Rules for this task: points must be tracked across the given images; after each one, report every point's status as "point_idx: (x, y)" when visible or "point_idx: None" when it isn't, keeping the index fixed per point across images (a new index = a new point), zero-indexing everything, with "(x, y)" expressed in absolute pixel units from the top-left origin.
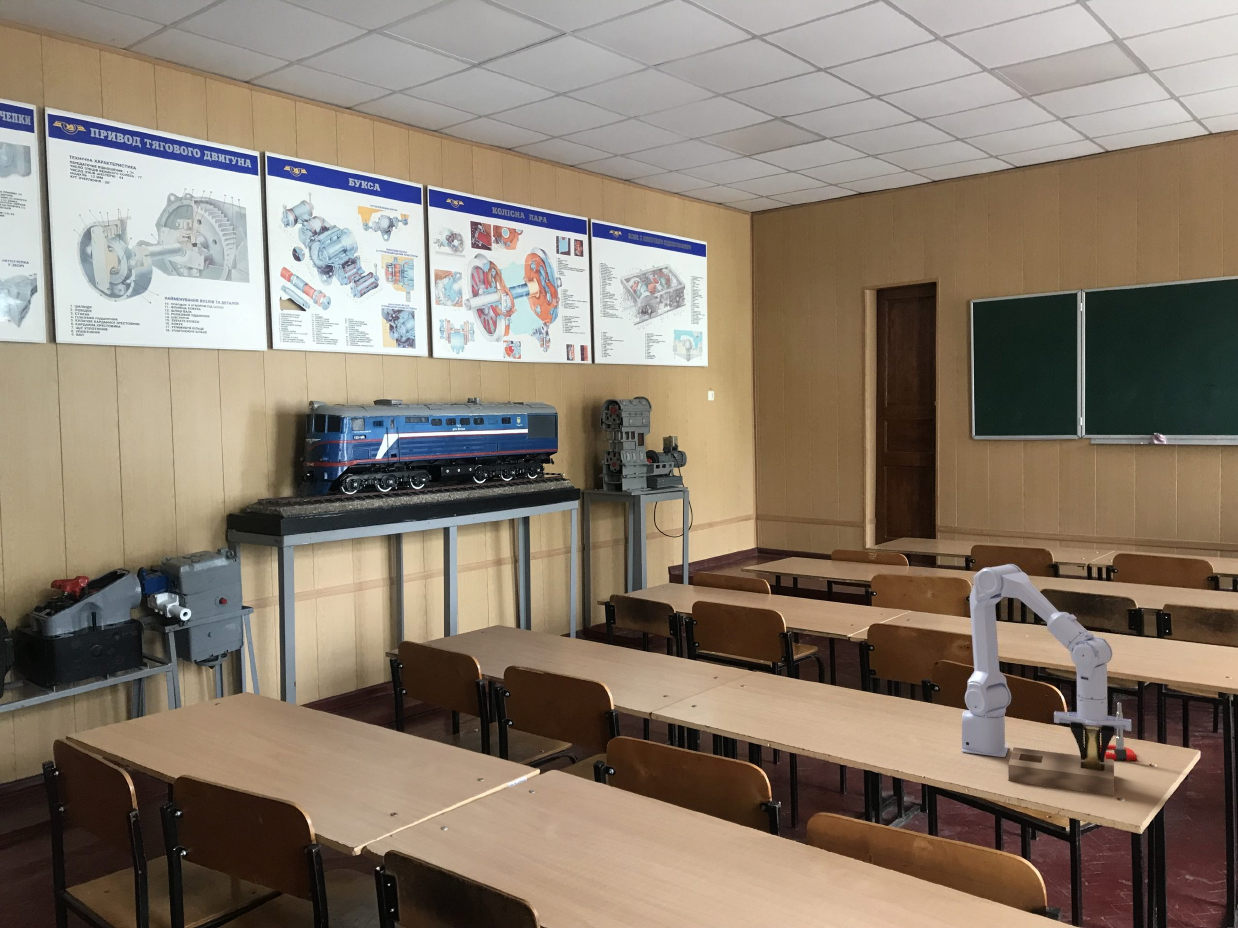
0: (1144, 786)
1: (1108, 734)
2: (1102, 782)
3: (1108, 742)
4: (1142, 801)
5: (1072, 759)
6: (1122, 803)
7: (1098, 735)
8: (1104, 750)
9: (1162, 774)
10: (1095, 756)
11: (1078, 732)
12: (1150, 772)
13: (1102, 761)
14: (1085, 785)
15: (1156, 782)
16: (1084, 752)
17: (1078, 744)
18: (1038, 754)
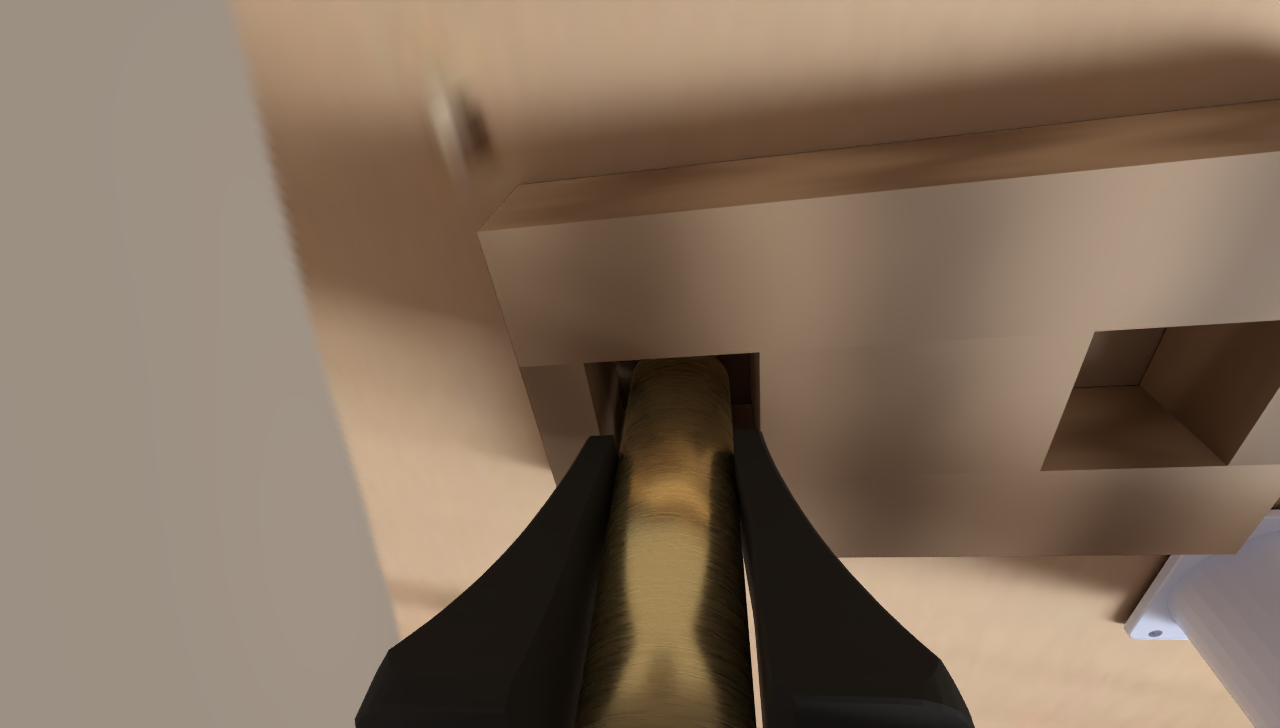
0: (429, 410)
1: (421, 666)
2: (575, 207)
3: (484, 577)
4: (337, 164)
5: (819, 486)
6: (419, 33)
7: (590, 663)
8: (553, 504)
9: (425, 560)
10: (643, 456)
11: (836, 654)
12: (471, 564)
13: (595, 436)
14: (706, 178)
15: (406, 477)
16: (738, 490)
17: (803, 522)
18: (1066, 491)
